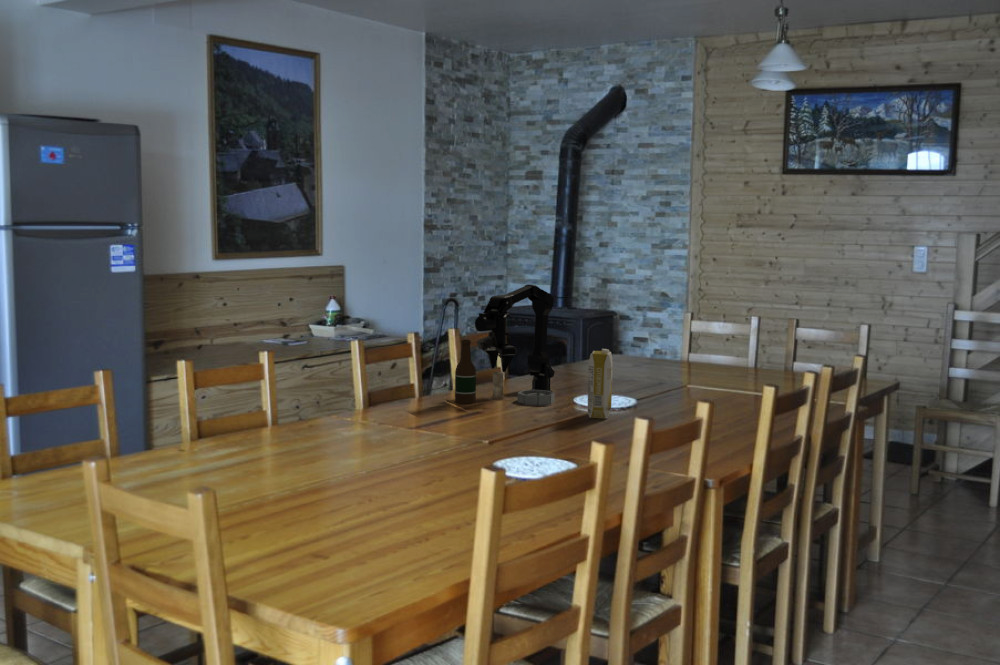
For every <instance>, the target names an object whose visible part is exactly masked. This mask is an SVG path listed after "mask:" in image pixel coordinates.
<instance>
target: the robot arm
mask: <svg viewBox="0 0 1000 665" xmlns="http://www.w3.org/2000/svg"><path fill="white" fill-rule="evenodd" d="M525 299H528V300H529V301H530V302H531V307H532V311H533V312H534V314H535V318H534V320H535V322H534V332H533V333H534V334H533V335H534V338H533V351H532V352H531V353H530V354H528V355H527V363H526V366H527V368H528V371H529V376H531V377H532V378H533V379H532V380H531V389H530V390H547V391H551V392H553V390H551V378H554V377H555V371H554V369H553V368H552V366H551V364H550V357H549V355H548V353H547V343H548V342H547V341H548V340H547V338H548V324H549V323H548V322H549V315H550V313H551V311H552V310H553V306H554V296H553V295H552V294H551V293H549V292H548V291H545V290H543V289H542V288H540V287H539V286H537V285H535V284H525V285H524V286H521V287H520V288H517V289H515V290H513V291H511V292H508V293H506V294H498V295H492V296H491V297H490V298H489V301H488V302H487V305H486V306H485V308H484V311H483V312H480V313H478V316H477V317H476V319H475V320H474V327H475V329H476V331H477V332H488V331H489V332H488V336H484V337H482V338H481V339H477V340H476V344H477V347H478V350H481V351H483V352H484V353H485V354H486V355H487V358H488V361H489V364H490V367H491V369H492V370H493V369H495V367H496V365H497V362H498V358H500V363H501V364H500V366H501V372H503V373H506V372H507V370H508V368H509V365H510V363H511V361H512V360H513V358H514V357H515V355H517V348H516V347H515V346H513V345H509V343H508V342H507V336H509V332H508V331H507V318H511V314H510V313H508V311H509V310H511V309H512V307H513V305H515V304H517V303H520V302H521V301H523V300H525Z"/></svg>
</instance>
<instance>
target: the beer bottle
mask: <svg viewBox="0 0 1000 665" xmlns="http://www.w3.org/2000/svg"><path fill="white" fill-rule="evenodd" d="M460 344H461V348H460V349H461V350H460V359H459V362H458V364H457V365H456V368H455V372H454V374H455V375H454V378H455V379H454V402H455V404H459V405H473V404H475V403H476V400H477V399H476V398H477V371H476V367H475V365H474V364H473V362H472V354H471V353H472V351H471V344H472V341H471V340H470V339H461V341H460Z"/></svg>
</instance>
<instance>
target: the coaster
mask: <svg viewBox="0 0 1000 665" xmlns="http://www.w3.org/2000/svg"><path fill="white" fill-rule="evenodd" d="M482 398H484V399H486V400H489V401H491V402H499V401H510V400H511V401H512V400H514V398H511V397H508V396H506V395H503V399H494V398H493V395H491V396H482Z"/></svg>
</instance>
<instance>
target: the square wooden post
mask: <svg viewBox="0 0 1000 665" xmlns="http://www.w3.org/2000/svg"><path fill="white" fill-rule="evenodd" d="M504 374H505V372H502V371H501V370H500V371H493V372H492V396H493V398H494V399H503V396H504Z"/></svg>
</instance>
